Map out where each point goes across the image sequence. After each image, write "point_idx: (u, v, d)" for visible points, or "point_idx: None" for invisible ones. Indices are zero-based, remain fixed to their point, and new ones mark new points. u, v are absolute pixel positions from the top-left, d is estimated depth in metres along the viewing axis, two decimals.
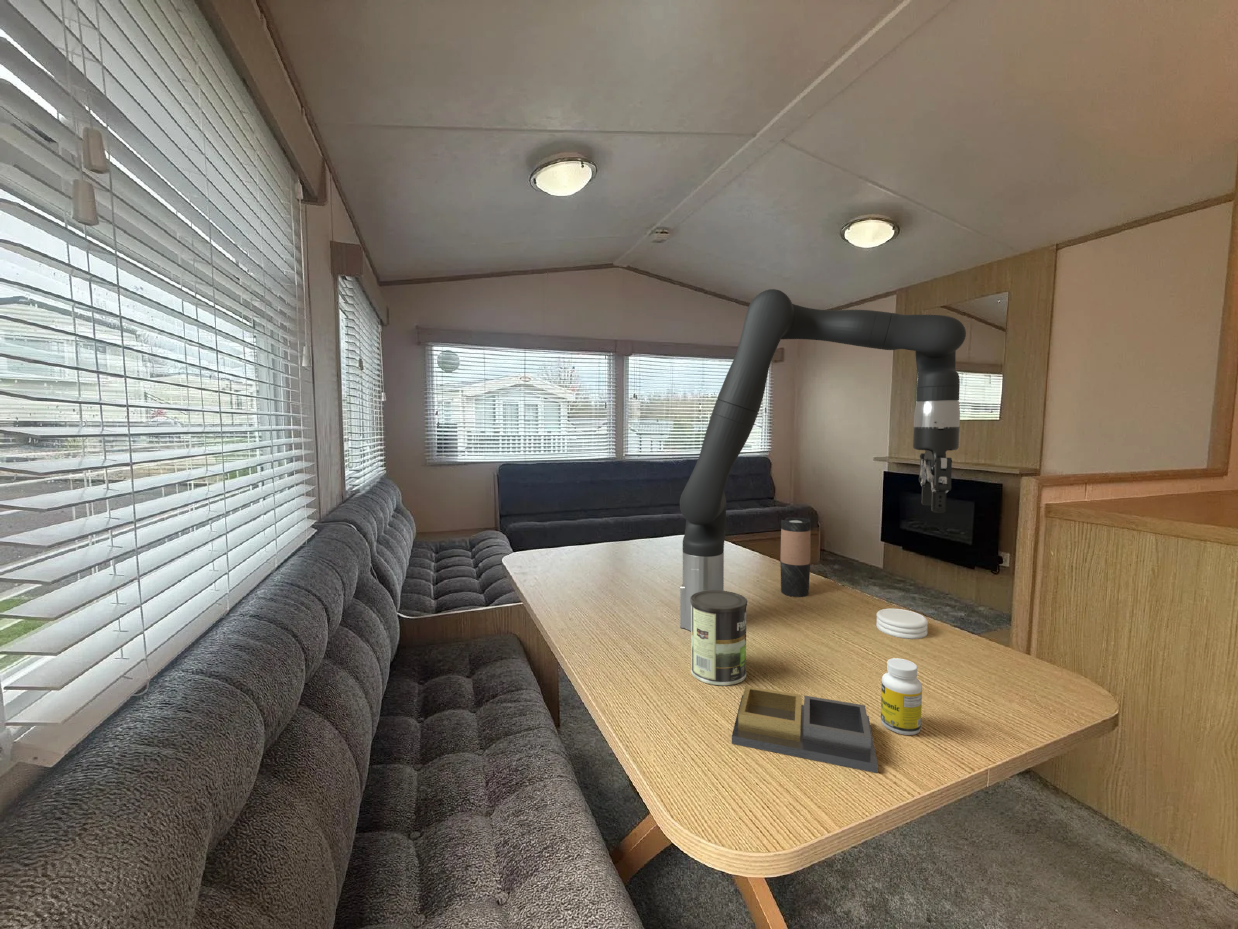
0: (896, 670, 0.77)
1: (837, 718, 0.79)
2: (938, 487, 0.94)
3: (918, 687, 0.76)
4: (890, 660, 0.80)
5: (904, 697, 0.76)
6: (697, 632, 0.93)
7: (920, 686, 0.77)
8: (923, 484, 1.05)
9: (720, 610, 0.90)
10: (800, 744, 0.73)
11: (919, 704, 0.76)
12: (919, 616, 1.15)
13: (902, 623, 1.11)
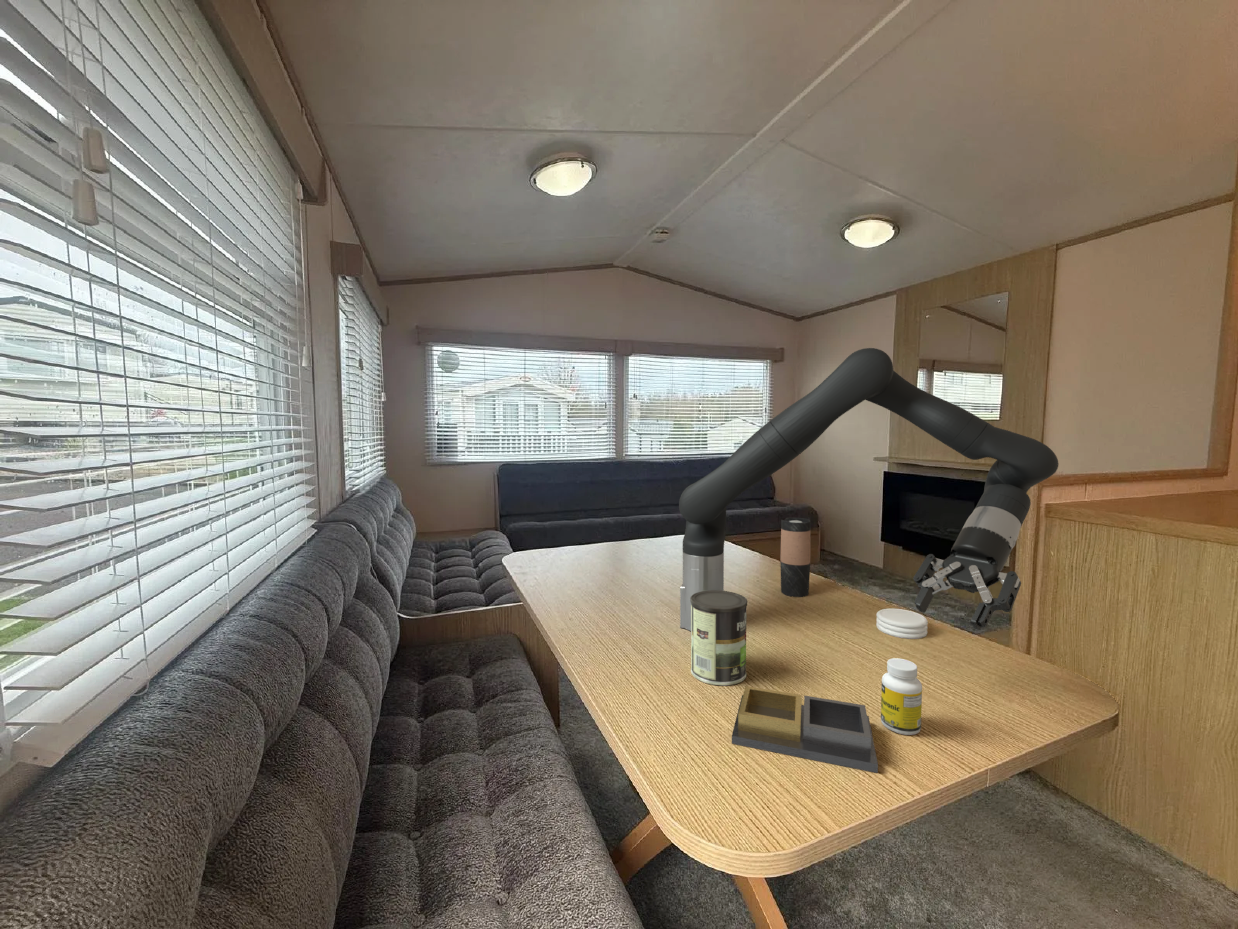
0: (896, 670, 0.77)
1: (837, 718, 0.79)
2: (1006, 602, 0.79)
3: (918, 687, 0.76)
4: (890, 660, 0.80)
5: (904, 697, 0.76)
6: (697, 632, 0.93)
7: (920, 686, 0.77)
8: (929, 586, 0.88)
9: (720, 610, 0.90)
10: (800, 744, 0.73)
11: (919, 704, 0.76)
12: (919, 616, 1.15)
13: (902, 623, 1.11)
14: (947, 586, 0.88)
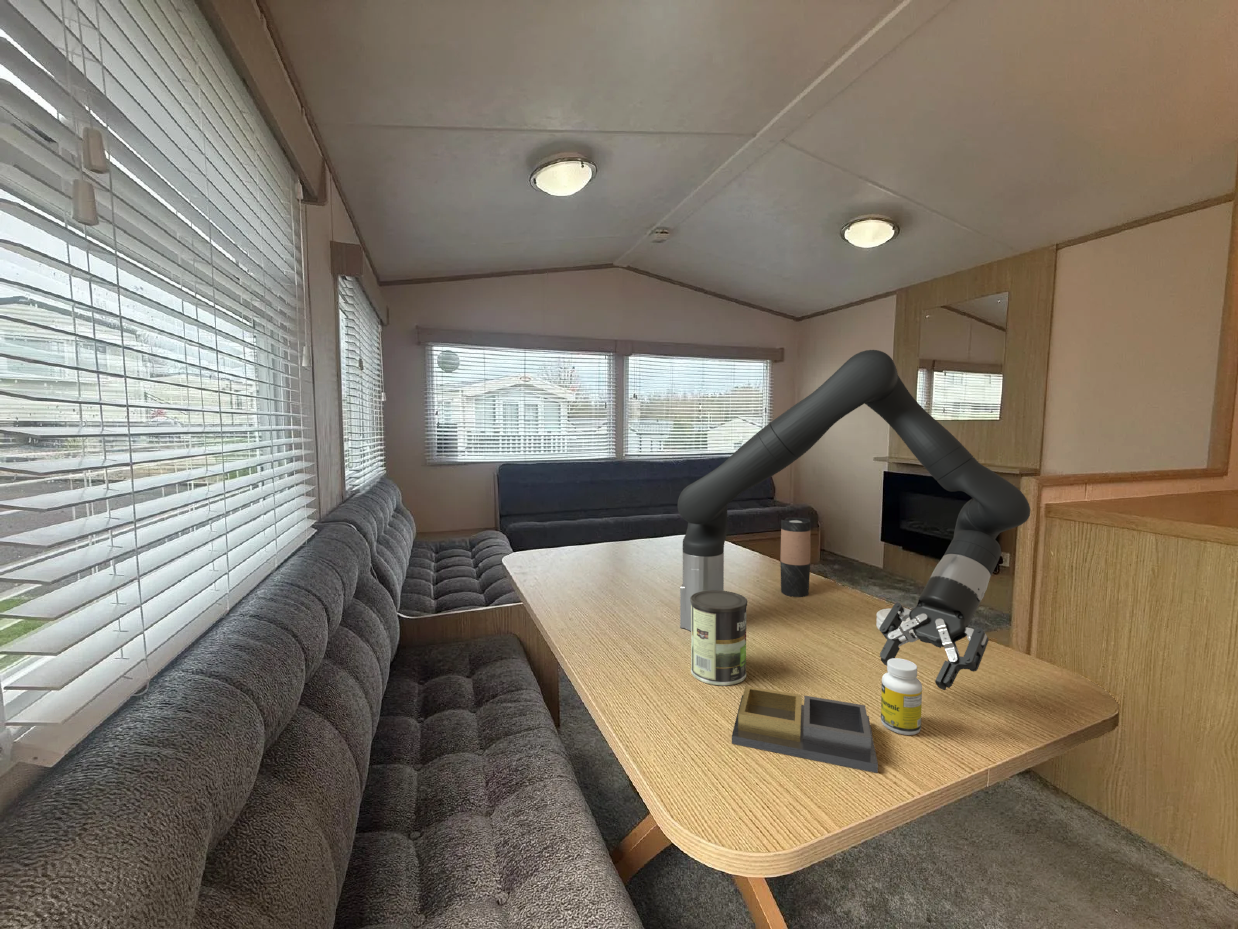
0: (896, 670, 0.77)
1: (837, 718, 0.79)
2: (972, 662, 0.75)
3: (918, 687, 0.76)
4: (890, 660, 0.80)
5: (904, 697, 0.76)
6: (697, 632, 0.93)
7: (920, 686, 0.77)
8: (895, 638, 0.84)
9: (720, 610, 0.90)
10: (800, 744, 0.73)
11: (919, 704, 0.76)
12: None
13: (902, 623, 1.11)
14: (914, 638, 0.84)
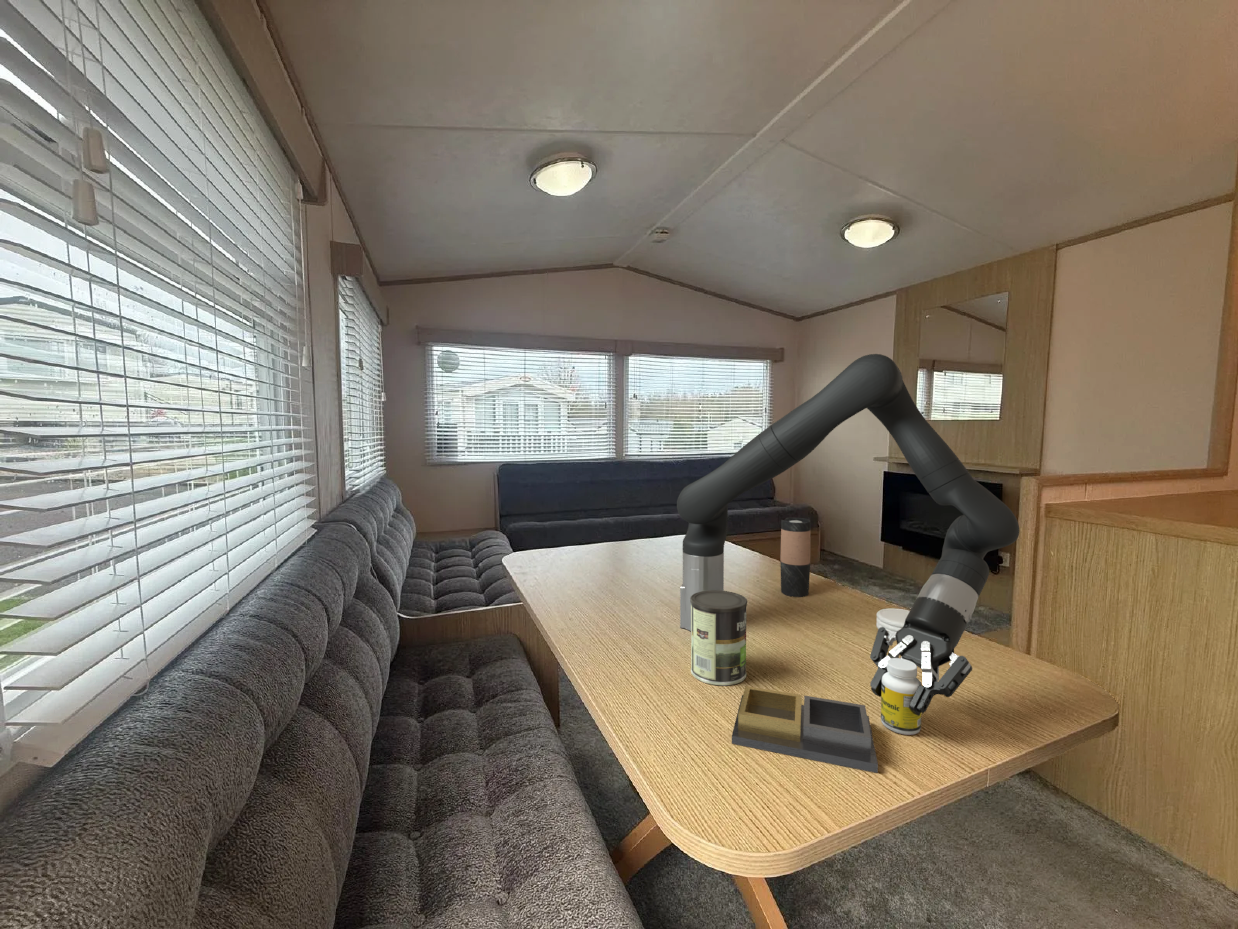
0: (896, 670, 0.77)
1: (837, 718, 0.79)
2: (946, 688, 0.74)
3: (918, 686, 0.76)
4: (890, 659, 0.80)
5: (904, 697, 0.76)
6: (697, 632, 0.93)
7: None
8: (886, 666, 0.81)
9: (720, 610, 0.90)
10: (800, 744, 0.73)
11: None
12: None
13: (902, 623, 1.11)
14: None
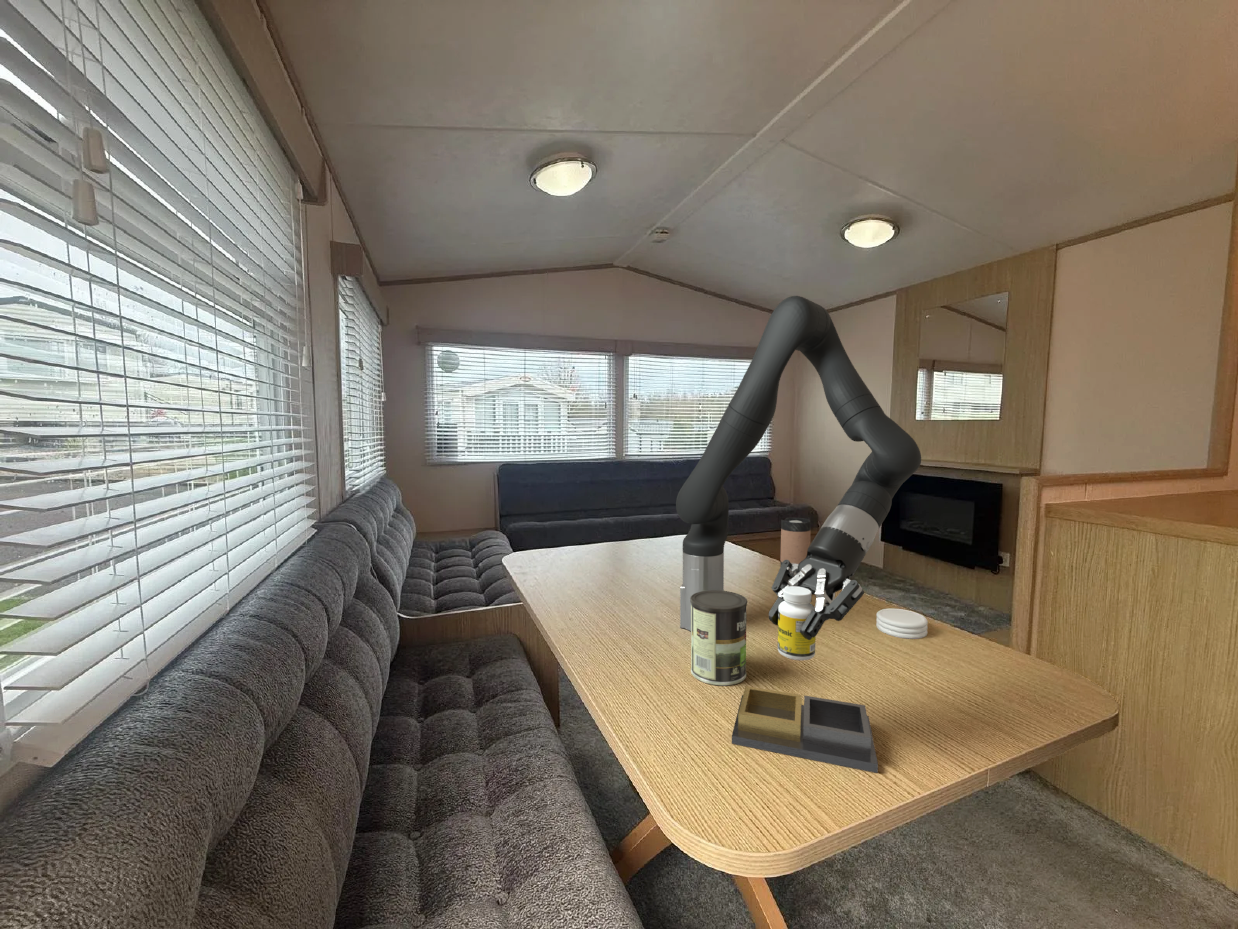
0: (789, 595, 0.76)
1: (837, 718, 0.79)
2: (836, 611, 0.73)
3: None
4: (787, 587, 0.79)
5: (796, 622, 0.75)
6: (697, 632, 0.93)
7: None
8: None
9: (720, 610, 0.90)
10: (800, 744, 0.73)
11: None
12: (919, 616, 1.15)
13: (902, 623, 1.11)
14: None
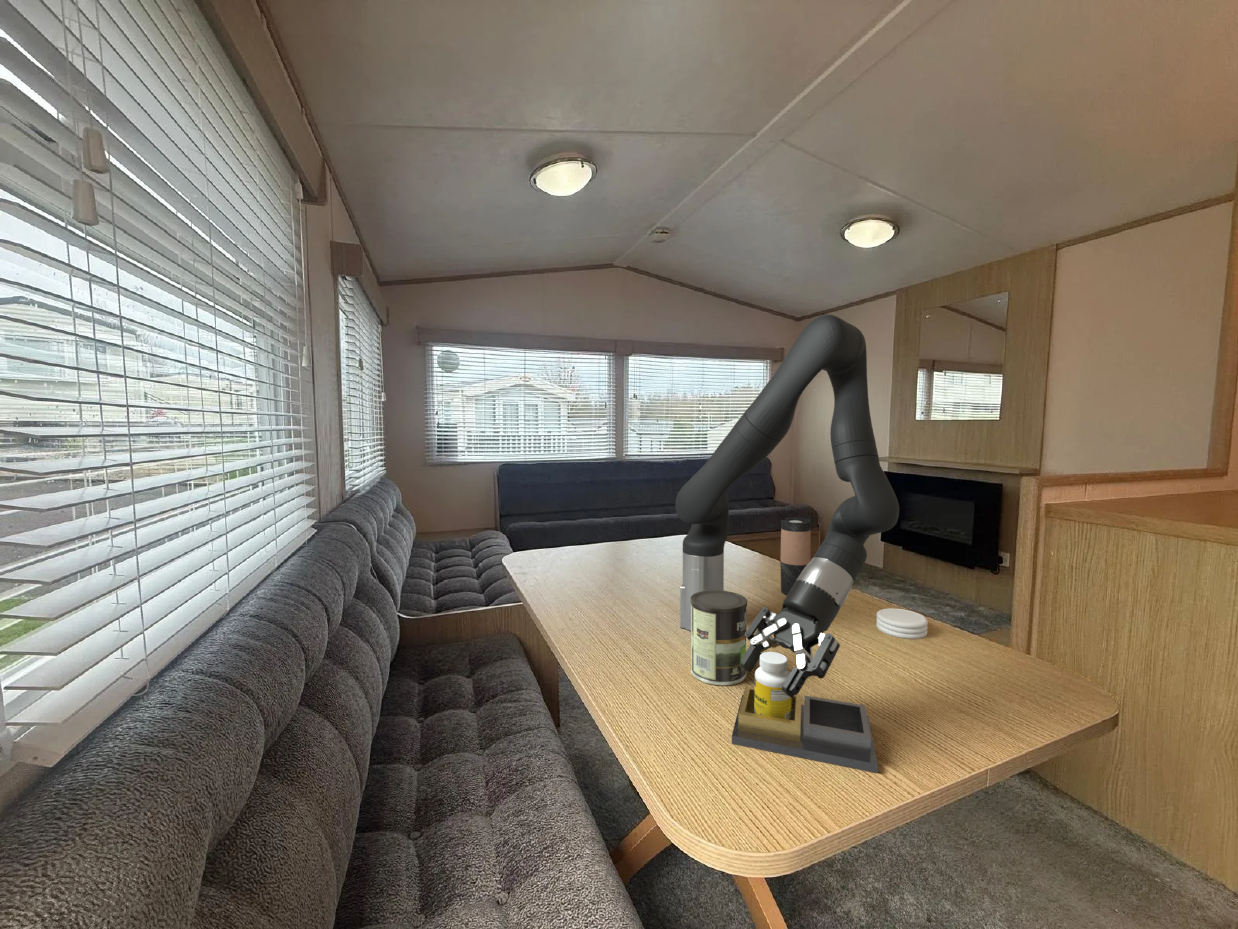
0: (765, 663, 0.77)
1: (837, 718, 0.79)
2: (817, 669, 0.73)
3: None
4: (763, 653, 0.79)
5: (771, 690, 0.76)
6: (697, 632, 0.93)
7: None
8: (756, 644, 0.82)
9: (720, 610, 0.90)
10: (800, 744, 0.73)
11: (787, 698, 0.76)
12: (919, 616, 1.15)
13: (901, 623, 1.11)
14: (776, 644, 0.82)
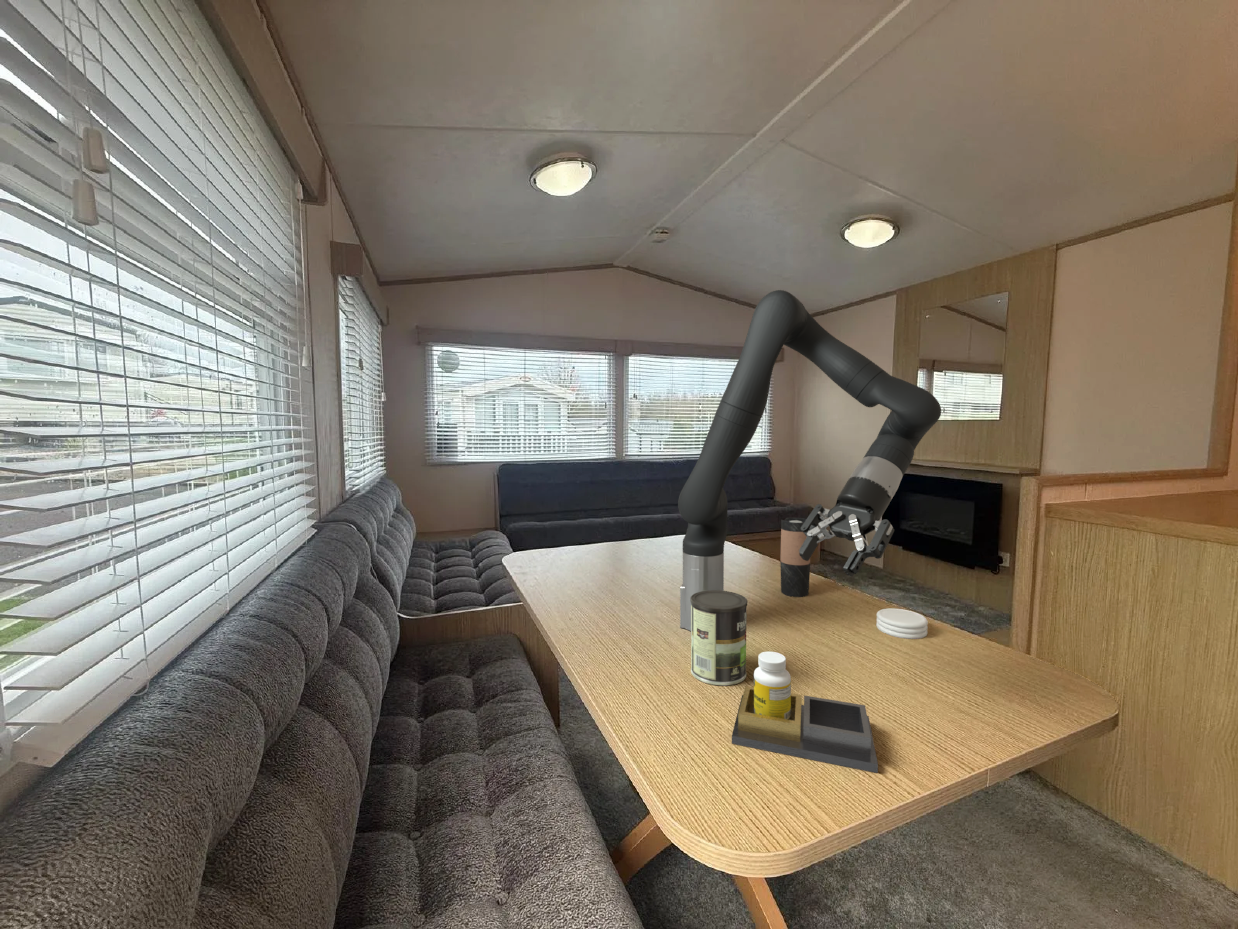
0: (763, 662, 0.77)
1: (837, 718, 0.79)
2: (876, 549, 0.81)
3: (784, 680, 0.76)
4: (762, 653, 0.80)
5: (769, 690, 0.76)
6: (697, 632, 0.93)
7: (787, 679, 0.76)
8: (813, 535, 0.90)
9: (720, 610, 0.90)
10: (800, 744, 0.73)
11: (786, 697, 0.76)
12: (919, 616, 1.14)
13: (901, 623, 1.11)
14: (831, 535, 0.90)
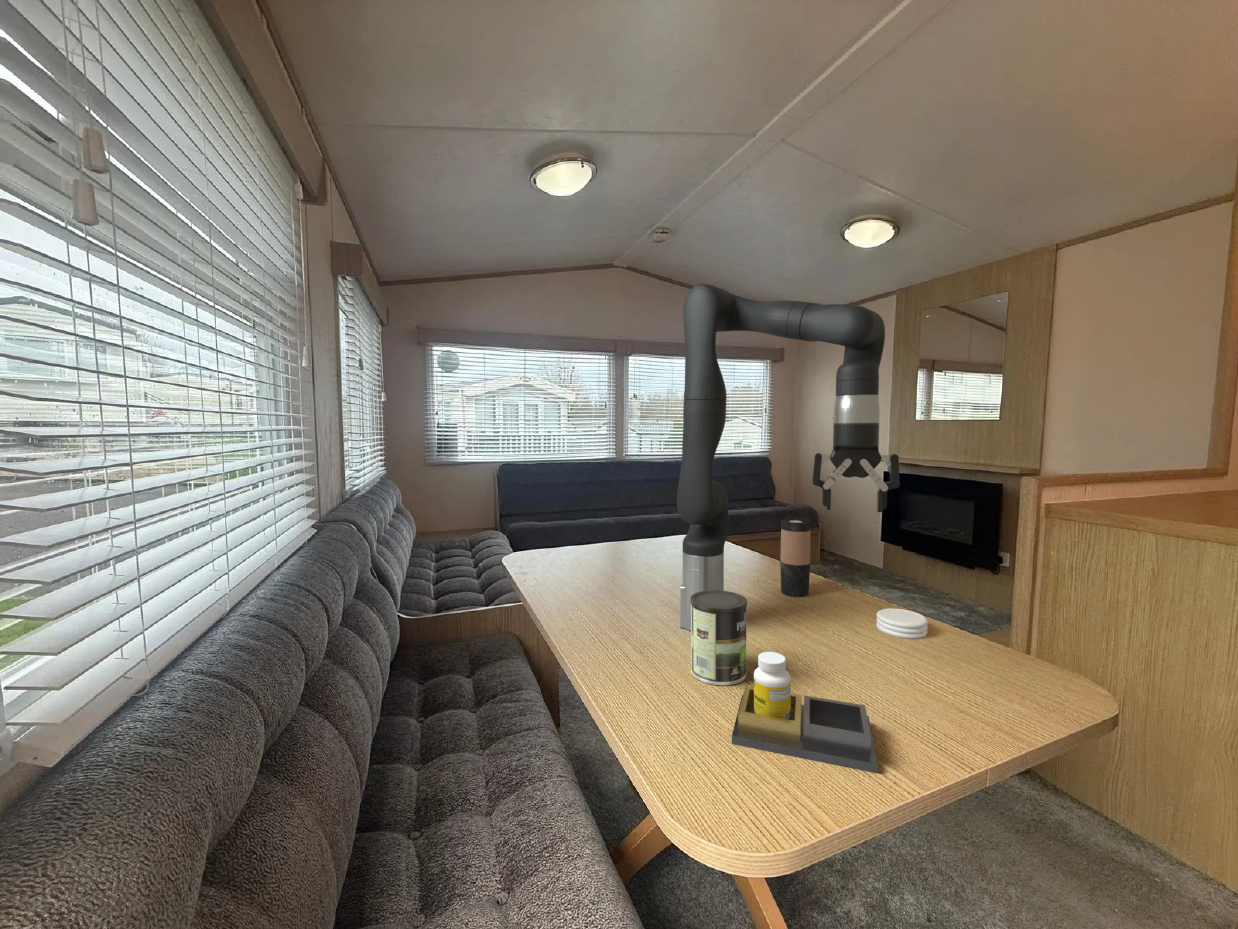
0: (763, 663, 0.77)
1: (837, 718, 0.79)
2: None
3: (784, 680, 0.76)
4: (762, 653, 0.79)
5: (769, 690, 0.76)
6: (697, 632, 0.93)
7: (787, 680, 0.76)
8: None
9: (720, 610, 0.90)
10: (800, 744, 0.73)
11: (785, 698, 0.76)
12: (919, 616, 1.14)
13: (901, 623, 1.11)
14: None
